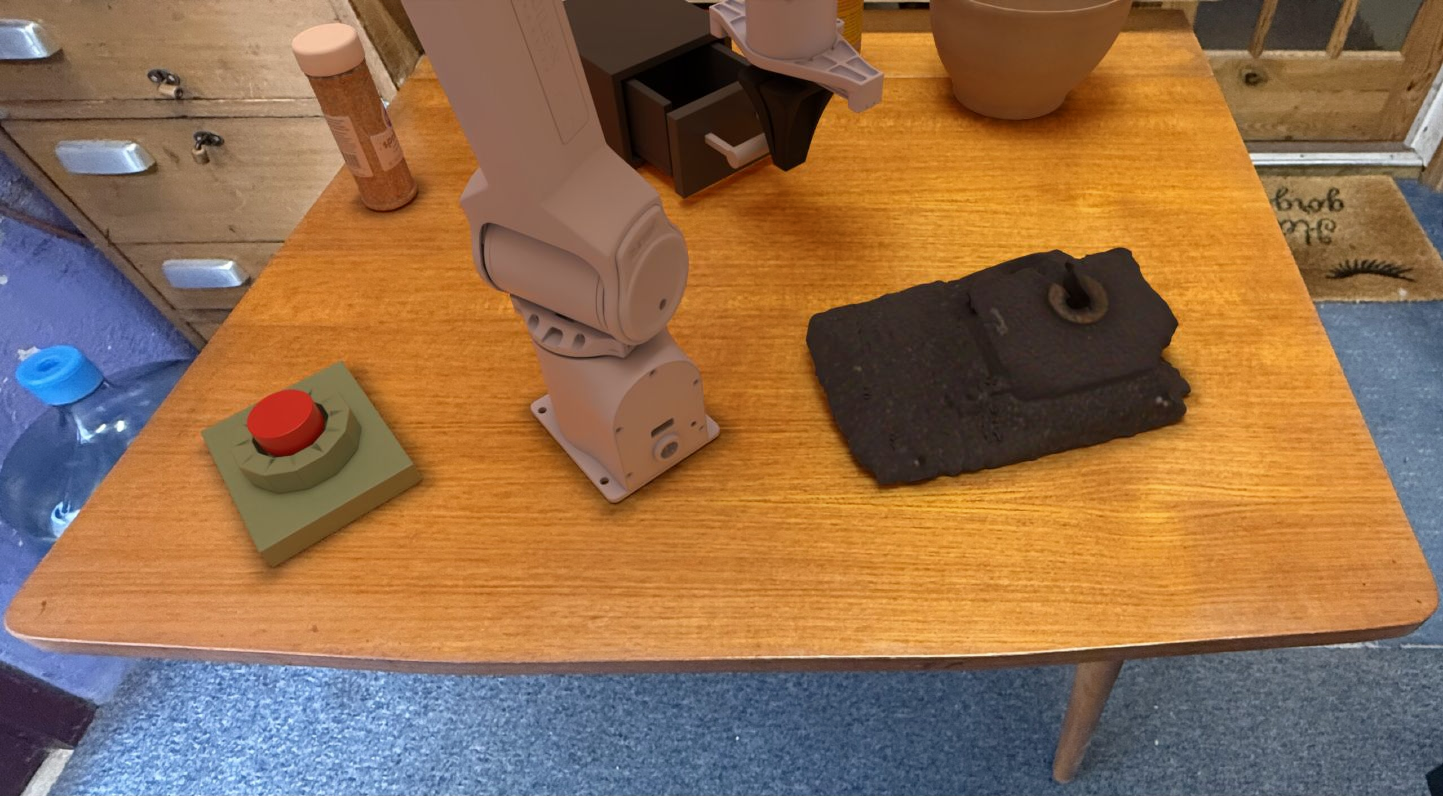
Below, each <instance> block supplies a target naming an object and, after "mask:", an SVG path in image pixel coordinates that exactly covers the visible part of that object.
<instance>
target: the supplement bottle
mask: <svg viewBox="0 0 1443 796" xmlns="http://www.w3.org/2000/svg"><path fill="white" fill-rule="evenodd" d="M864 4H865V0H838V4H837V18H839V19H841V20H843V21H844V33H842V34H841V36H842V37H843V38H844V39H845V40H846V41H847V42H848V43H849V44H850V45H851V46H852V47H853V48H854V49H855V50H856V51H857V52H858V53H859V55H860V56H861V50H862V35H863V21H864Z"/></svg>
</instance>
